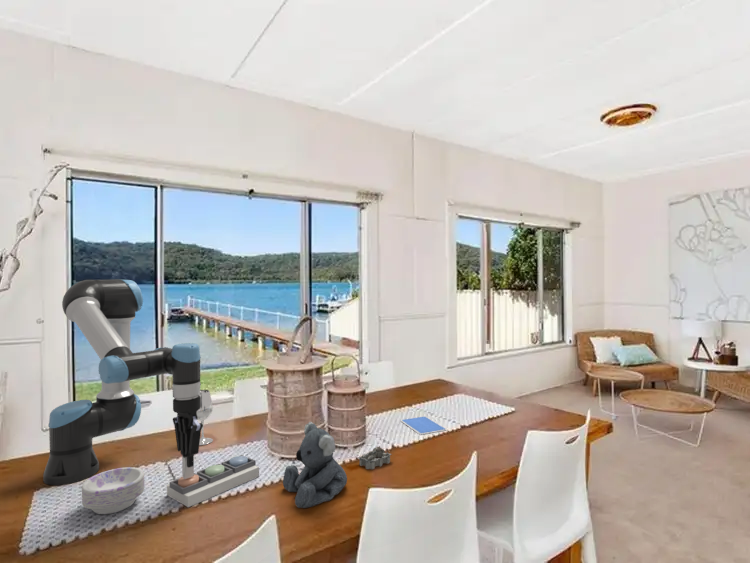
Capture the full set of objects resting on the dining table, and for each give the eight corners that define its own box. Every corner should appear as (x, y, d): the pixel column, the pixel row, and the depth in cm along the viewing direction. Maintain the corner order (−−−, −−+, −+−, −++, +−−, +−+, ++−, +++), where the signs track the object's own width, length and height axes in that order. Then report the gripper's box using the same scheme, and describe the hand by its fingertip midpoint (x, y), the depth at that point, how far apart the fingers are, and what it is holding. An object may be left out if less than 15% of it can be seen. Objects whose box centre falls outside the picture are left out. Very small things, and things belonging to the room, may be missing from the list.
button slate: (236, 470, 138) (236, 464, 138) (226, 465, 141) (225, 460, 141) (251, 464, 142) (251, 458, 142) (240, 460, 146) (240, 454, 146)
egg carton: (380, 456, 155) (380, 445, 155) (394, 463, 149) (393, 451, 149) (355, 464, 149) (355, 452, 149) (368, 471, 143) (368, 459, 143)
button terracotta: (184, 491, 124) (184, 484, 124) (174, 485, 128) (174, 479, 128) (202, 483, 129) (202, 477, 129) (192, 478, 132) (192, 472, 132)
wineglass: (208, 445, 169) (207, 393, 169) (188, 445, 169) (187, 394, 169) (216, 438, 176) (215, 388, 176) (197, 438, 177) (196, 389, 177)
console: (187, 507, 122) (186, 491, 122) (166, 495, 129) (165, 480, 129) (259, 475, 141) (259, 462, 141) (238, 466, 148) (237, 453, 148)
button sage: (211, 480, 131) (211, 474, 131) (201, 475, 134) (201, 469, 134) (228, 473, 135) (227, 467, 135) (217, 468, 139) (217, 463, 139)
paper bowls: (99, 526, 113) (99, 495, 113) (71, 511, 121) (71, 482, 121) (155, 500, 126) (155, 473, 126) (127, 488, 134) (126, 462, 134)
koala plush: (280, 487, 133) (278, 423, 133) (334, 473, 142) (333, 413, 142) (299, 513, 118) (297, 440, 118) (358, 496, 126) (357, 428, 126)
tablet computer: (447, 432, 180) (447, 428, 180) (420, 436, 175) (420, 433, 175) (425, 418, 198) (425, 416, 198) (400, 422, 193) (400, 419, 193)
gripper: (210, 397, 127) (212, 478, 127) (187, 390, 135) (188, 466, 135) (186, 403, 121) (187, 487, 121) (163, 396, 129) (164, 475, 129)
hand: (188, 476), depth 128 cm, fingers closed
